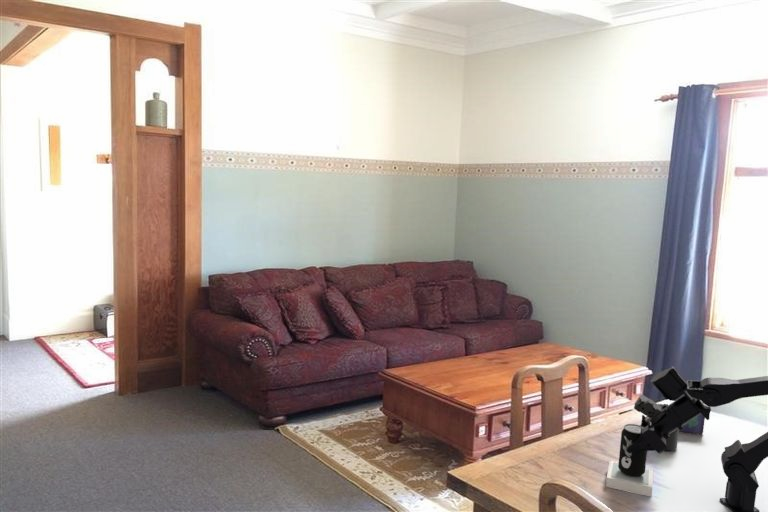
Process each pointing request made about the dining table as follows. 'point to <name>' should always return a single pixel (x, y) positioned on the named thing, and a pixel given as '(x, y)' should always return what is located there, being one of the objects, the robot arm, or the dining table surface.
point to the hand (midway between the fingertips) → (628, 446)
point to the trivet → (629, 480)
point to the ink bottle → (671, 440)
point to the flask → (694, 426)
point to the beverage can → (631, 461)
